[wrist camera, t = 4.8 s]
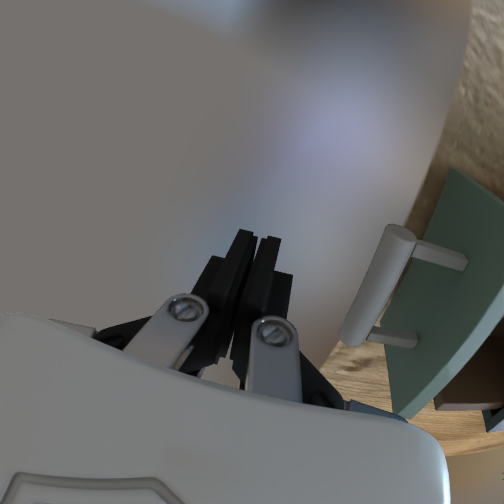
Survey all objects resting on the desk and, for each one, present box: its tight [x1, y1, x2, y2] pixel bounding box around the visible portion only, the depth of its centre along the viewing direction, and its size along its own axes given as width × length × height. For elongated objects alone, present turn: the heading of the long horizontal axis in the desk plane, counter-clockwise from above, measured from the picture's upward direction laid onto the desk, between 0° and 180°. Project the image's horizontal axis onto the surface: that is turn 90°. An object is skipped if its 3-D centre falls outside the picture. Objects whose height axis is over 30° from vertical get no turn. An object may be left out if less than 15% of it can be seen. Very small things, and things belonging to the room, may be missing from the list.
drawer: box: [339, 167, 504, 419], centre depth 12 cm, size 18×11×8 cm, turn 81°
